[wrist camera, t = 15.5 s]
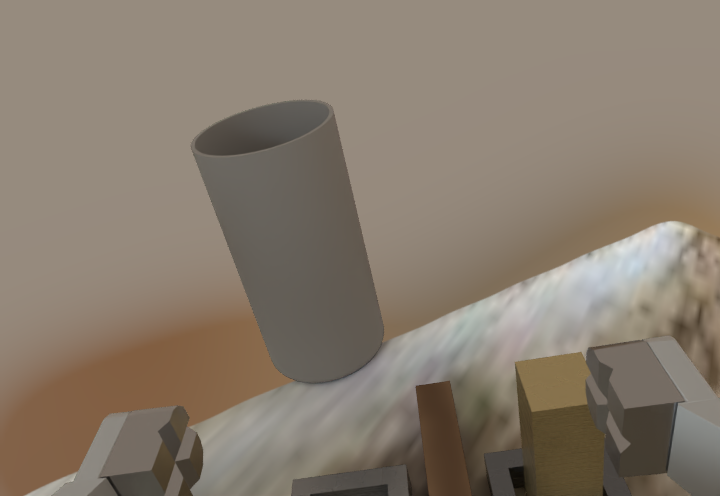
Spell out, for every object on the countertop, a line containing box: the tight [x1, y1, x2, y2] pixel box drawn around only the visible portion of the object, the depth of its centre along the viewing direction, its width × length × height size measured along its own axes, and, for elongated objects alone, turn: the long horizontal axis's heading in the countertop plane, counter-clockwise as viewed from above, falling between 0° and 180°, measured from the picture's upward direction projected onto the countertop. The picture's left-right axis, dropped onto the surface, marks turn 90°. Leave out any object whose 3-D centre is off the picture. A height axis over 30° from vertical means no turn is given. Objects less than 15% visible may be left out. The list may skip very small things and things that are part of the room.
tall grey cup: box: [191, 100, 384, 383], centre depth 55 cm, size 12×12×25 cm
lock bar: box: [515, 352, 605, 496], centre depth 37 cm, size 4×4×14 cm
